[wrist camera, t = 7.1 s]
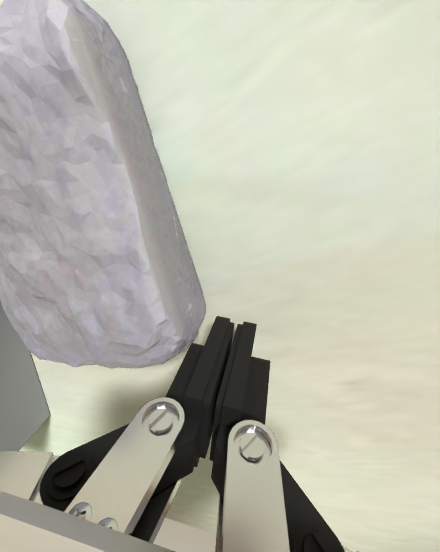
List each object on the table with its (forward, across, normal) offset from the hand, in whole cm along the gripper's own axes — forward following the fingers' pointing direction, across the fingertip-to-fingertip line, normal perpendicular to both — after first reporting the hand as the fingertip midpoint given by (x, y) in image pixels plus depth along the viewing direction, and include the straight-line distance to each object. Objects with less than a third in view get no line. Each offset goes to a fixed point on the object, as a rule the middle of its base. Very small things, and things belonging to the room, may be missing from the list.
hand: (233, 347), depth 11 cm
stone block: (+2, +8, -4) cm, 9 cm away
